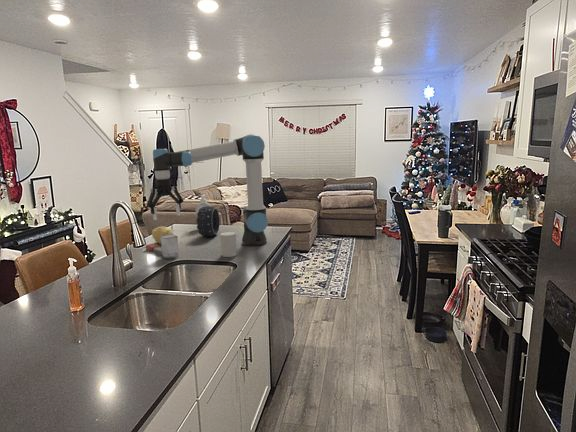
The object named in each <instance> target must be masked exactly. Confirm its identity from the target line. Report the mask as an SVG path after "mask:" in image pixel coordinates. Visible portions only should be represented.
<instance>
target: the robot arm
mask: <svg viewBox="0 0 576 432" xmlns="http://www.w3.org/2000/svg"><path fill="white" fill-rule="evenodd" d="M265 147H266V145H265V141H264V139H263V138H262V137H261V136H260V135H258V134H256V133H254V134H253V133H251V134H250V133H249V134H247V135H245V136H243V137H239V138H235V139H233V141H229V142H224V143H223V142H222V143H217V144H213V145H208V146H207V145H206V146H200V147H196V148H191V149H185V150H180V151H176V152H173V151H172V152H169V150H168V149H167V148H155V149H153V150H152V160H153V169H154V176H155V177H154V178H155V185H156V188H150V195H149V197H148V199H147V202H146V208H149V209H150V213H151V215H152V219H153V220H154V221H157V220H158V215H157V208H156V205H157V203H158V202H159V200H160V199H161V198H162V197H165V196H169V197H170V198H171V199H172V200H173V201H174V203H175V210H176V211H175V213H176V216H178V217H180V216H181V209H182V208H181V207H182V206H181V205H182V204H183V202H184V199H183V197H182V195H181V194H180V192H179V191H178V187H177V186H176V185H173V186H172V183H171V171H170V167H188V166H192V164H193V163H199V162H203V161H204V162H205V161H209V160H214V159H220V158H223V157H224V158H225V157H230V156H234V155H235V156H237V157H239V156H242V160H243V162H244V163H245V174H246V175H245V176H246V195H247V206H246V205H245V206H243V207H242V216H243V219H242V220H243V235H242V239H241V244H242V245H243V246H247V247H255V246H256V247H257V246H262V245H265V244H267V243H268V239H267V236H266V233H265V230H266V228H267V227H268V225H269V220H268V218H269V217H267V207H266V206H265V205H264V194H263V193H264V192H263V174H262V171H263V170H262V163H263V162H262V161H264V157H265V156H264V155H265V153H264V151H265ZM172 191H173V192H172ZM173 193H174V194H173Z"/></svg>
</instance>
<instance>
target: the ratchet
mask: <svg viewBox="0 0 576 432" xmlns="http://www.w3.org/2000/svg"><path fill="white" fill-rule="evenodd" d="M145 249H146V251H148V252H151V253H153V254H157V255H158V256H159V255H160V256H161V257H162V258H163V259H164V260H174V259H177V258H179V252H176V253H172V254H165V253H162V246H160V245H159V244H155V243H149V244H146V245H145Z"/></svg>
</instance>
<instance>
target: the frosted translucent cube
mask: <svg viewBox="0 0 576 432" xmlns="http://www.w3.org/2000/svg"><path fill="white" fill-rule="evenodd" d="M160 247H161V248H162V253H165V254H172V253H176V252H178V253H179V252H180V248H179V247H180V246H179V239H178V235H176V234H174V233H173V234H170V235H165V236H161V244H160Z"/></svg>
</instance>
